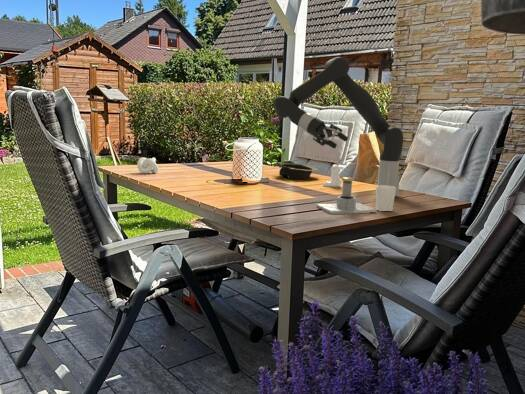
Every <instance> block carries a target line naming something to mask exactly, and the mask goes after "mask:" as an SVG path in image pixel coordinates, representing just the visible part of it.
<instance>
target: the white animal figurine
mask: <svg viewBox="0 0 525 394" xmlns="http://www.w3.org/2000/svg"><path fill="white" fill-rule="evenodd" d="M156 162H157V159H156V157H152V158H147V157H140V158H139V159H138V160H137V169H138V171H139V172H140V173H141V174H143V175H145V174H149V173H150V172H151V173H152V174H157V173H158V172H159V167H158V164H157V163H156Z"/></svg>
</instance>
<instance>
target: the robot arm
mask: <svg viewBox="0 0 525 394" xmlns="http://www.w3.org/2000/svg"><path fill="white" fill-rule="evenodd" d="M349 71H350V63H349V60H348V59H347V58H345V57H341V56H336V57H334V58H332V59H329V60H328V61H326V63H325V65H324V69H322V71H320V72H319V73H318V74H316V75H315V76H313V77H311V78H309V79H308V80H306V81H305V82H303V83H301V84H300V85H298V86H297V87H296V88H294V89H293V90H292V91H290V93H289V97H287V96H285V95H284V96H282V95H281V96H277V97H276V98H275V99H274V102H273V105H274V106H273V107H274V111H275V114H276V116H277V117H278V118H280V119H286V118H288V119H289V120H290V121H291V123H292V124H294V125H296V126H298V127H299V128H301V130H303V131H305V133H308V134H309V135H311V136H312V140H314V142H316V143H318V144H319V145H320V146H322V147H323V146H328V147H331V148H332V149H336V148H337V144H338V143H336V142H334V141H332V140H331V139H330V138H335V137H336V138H339V139H340V140H342V141H343V142H347V141H348V138H349V137H348V136H347V135H346V134H344V133H342V132H343V129H342V128H341V127H339V126H336V125H335V124H333V123H330V125H329V126H328V125H326V123H325V122H324V121H323V120H321V119H320V118H319V117H317V116H315V115H313V114H312V113H308V112H307V111H305V110H303V109H302V108H300V106H301V104H303V103H304V102H306V101H307V100H309V98H311V97H312V96H314V95H315V94H316V93H317V92H319V91H320V90H321V89H323V88H325V87H326V86H328V85H329V84H330V83H334V85H335V86H336V87H337V88H339V89H340V91H341V92H342V93H343V95H344V96H345V97H346V98H347V100H348V101H349V103H351V105H352V106H353V108H354V109H355V110H356V112H357V113H358V114H359V115H360V116H361V117H362V118H363V119H364V121H365V123H367V124H368V125H369V126H370V128H371V129H372V131H373V132H374V134H375V135H376V137H377V139H379V142H380V143H381V144H383V150H382V152H381V153H380V155H379V164H378V174H377V175H378V176H377V186H378V185H387V186H394V187H396V190H395V197H398V196H399V187H400V178H401V177H400V176H399V169H400V167H399V166H400V159H401V155H402V154H403V153H402V152H403V147H404V146H403V144H404V133H403V131H402V130H401V129H400V128H399V127H397V126H391V124H389V122H387V121H386V120H385V118H384V117H383V115H382V113H381V110H380V109H379V105H378V103H377V101H376V100H375V99H374V98H373V97H372V95H371V94H370V93H369V91H368V90H367V89H365V87H363V86H362V85H360V84H359V83H357V82H356V81H355V80H353V78H352V77H351V76H350V75H349V73H348V72H349Z"/></svg>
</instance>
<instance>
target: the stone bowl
mask: <svg viewBox="0 0 525 394" xmlns="http://www.w3.org/2000/svg"><path fill="white" fill-rule="evenodd" d="M276 165H277V166H279V167H281V168H280V169H279V172H278V173H279V174H278V175H279V176H282V177H287V178H288V179H289V180H294V179H295V180H300V179H303V180H307V179H309V178H310V176H311V174H313V173H312V172H313V171H316V172H317V171H318V168H316V167H313V166H311V165H306V164H299V163H295V162H294V161H290V160H285V161H283V162H278V161H276Z"/></svg>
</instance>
